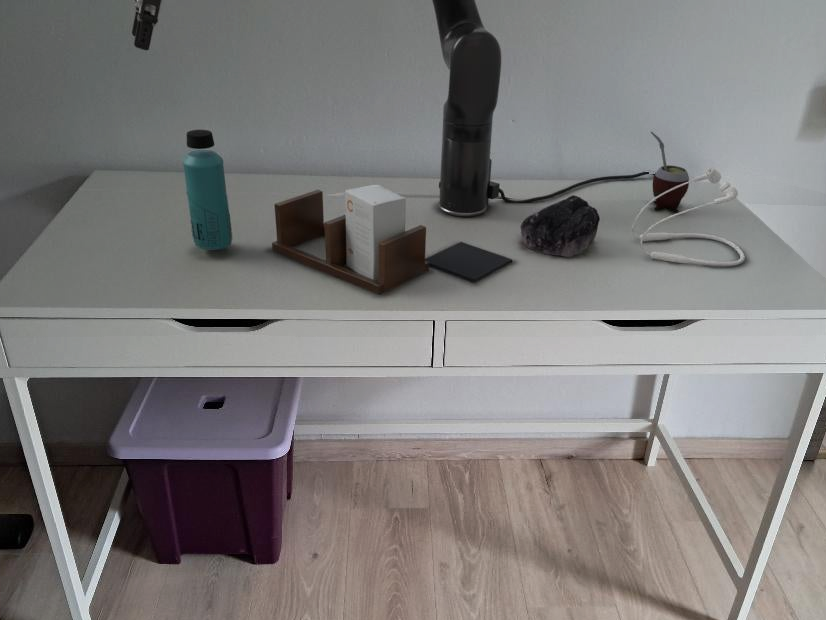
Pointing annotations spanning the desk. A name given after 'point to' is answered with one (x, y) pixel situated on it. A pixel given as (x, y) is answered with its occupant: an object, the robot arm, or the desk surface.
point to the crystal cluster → (561, 227)
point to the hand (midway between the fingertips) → (139, 42)
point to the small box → (371, 225)
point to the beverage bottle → (206, 193)
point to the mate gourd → (669, 184)
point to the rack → (306, 222)
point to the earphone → (729, 195)
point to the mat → (467, 261)
